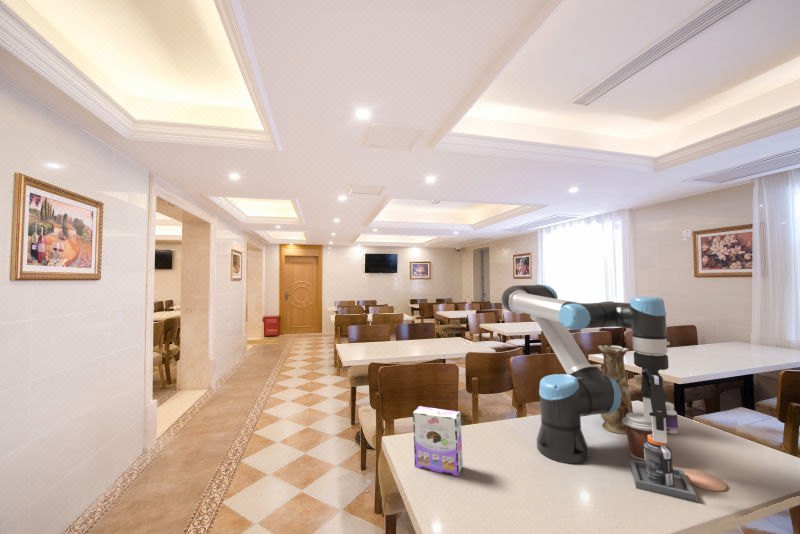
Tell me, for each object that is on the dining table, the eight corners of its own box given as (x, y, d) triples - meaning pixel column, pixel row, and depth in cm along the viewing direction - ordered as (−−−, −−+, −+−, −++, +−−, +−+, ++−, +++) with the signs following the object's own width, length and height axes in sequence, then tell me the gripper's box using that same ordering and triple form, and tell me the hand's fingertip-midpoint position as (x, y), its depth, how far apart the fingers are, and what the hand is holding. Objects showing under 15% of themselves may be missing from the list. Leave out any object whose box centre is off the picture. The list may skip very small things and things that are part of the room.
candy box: (463, 466, 95) (461, 410, 96) (458, 477, 89) (456, 418, 90) (420, 457, 100) (419, 404, 101) (413, 467, 95) (412, 411, 96)
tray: (636, 488, 83) (635, 481, 83) (630, 465, 93) (629, 459, 93) (696, 502, 77) (696, 495, 77) (683, 476, 87) (682, 469, 87)
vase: (593, 423, 122) (588, 345, 124) (619, 421, 123) (613, 344, 125) (615, 436, 111) (609, 350, 113) (642, 433, 112) (636, 349, 114)
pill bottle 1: (682, 434, 111) (680, 406, 112) (667, 434, 111) (665, 406, 112) (669, 427, 117) (667, 400, 117) (655, 427, 117) (653, 400, 118)
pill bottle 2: (680, 488, 82) (676, 443, 82) (654, 485, 83) (650, 441, 83) (665, 474, 87) (662, 432, 88) (641, 472, 89) (638, 431, 89)
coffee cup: (624, 445, 104) (621, 408, 105) (659, 453, 99) (656, 414, 100) (624, 458, 97) (621, 418, 98) (662, 467, 92) (659, 425, 92)
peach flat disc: (685, 485, 83) (685, 482, 84) (676, 468, 91) (676, 465, 91) (732, 495, 79) (732, 493, 79) (719, 476, 87) (718, 474, 87)
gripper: (680, 364, 75) (685, 456, 74) (657, 345, 96) (662, 416, 95) (640, 361, 78) (645, 448, 77) (627, 343, 100) (631, 411, 99)
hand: (654, 430), depth 86 cm, fingers open, 13 cm apart
